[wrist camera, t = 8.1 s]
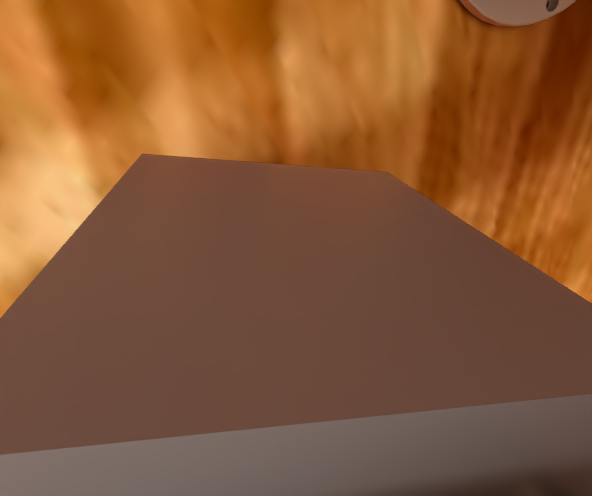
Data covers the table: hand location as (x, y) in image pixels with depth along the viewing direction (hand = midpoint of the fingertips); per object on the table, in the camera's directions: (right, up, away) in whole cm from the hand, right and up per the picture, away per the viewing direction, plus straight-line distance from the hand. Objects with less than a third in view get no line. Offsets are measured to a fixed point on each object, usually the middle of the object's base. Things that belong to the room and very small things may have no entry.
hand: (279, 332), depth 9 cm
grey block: (-1, +2, +3) cm, 3 cm away
